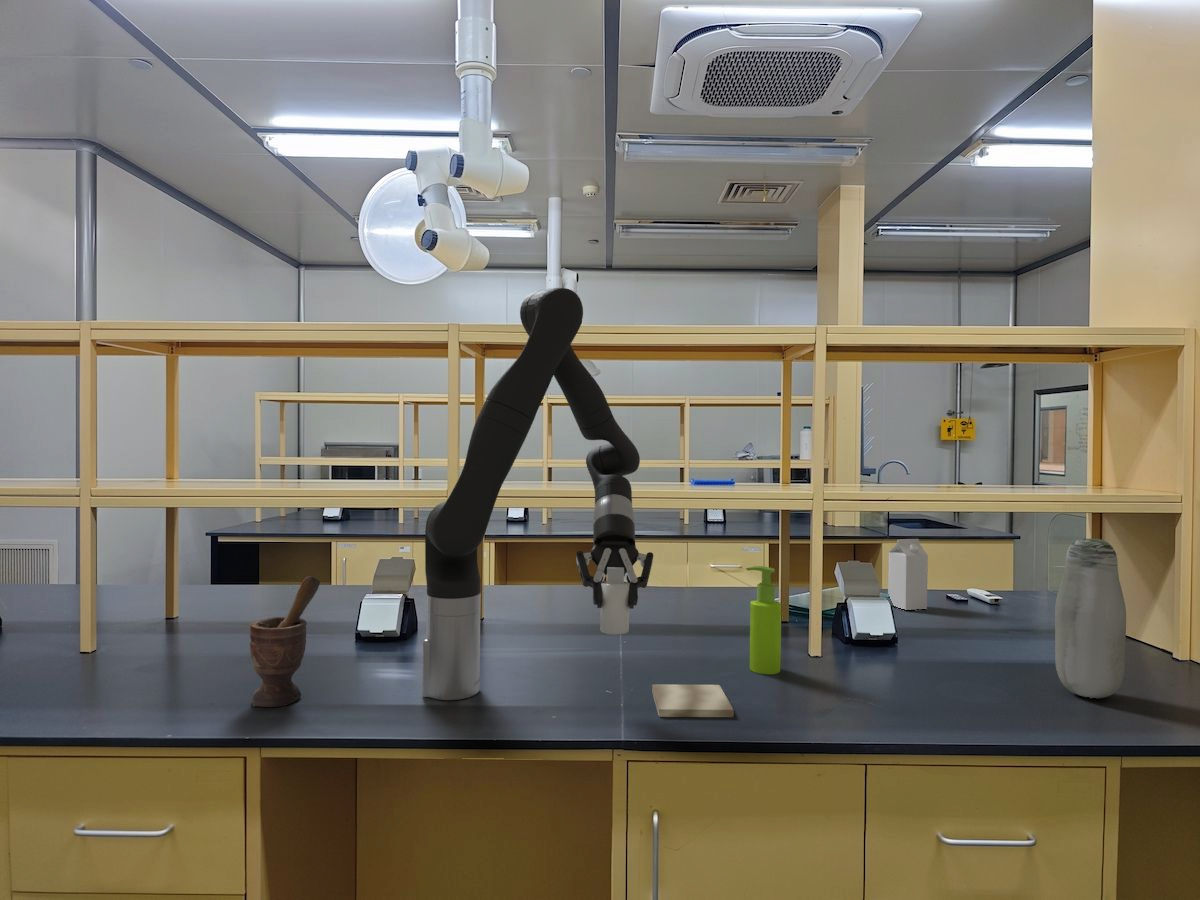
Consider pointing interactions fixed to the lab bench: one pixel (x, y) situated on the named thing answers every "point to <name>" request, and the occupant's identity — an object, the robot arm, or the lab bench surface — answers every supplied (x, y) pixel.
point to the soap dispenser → (765, 626)
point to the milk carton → (908, 575)
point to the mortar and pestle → (281, 650)
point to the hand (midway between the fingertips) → (615, 605)
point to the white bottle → (615, 603)
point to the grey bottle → (1090, 621)
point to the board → (691, 701)
